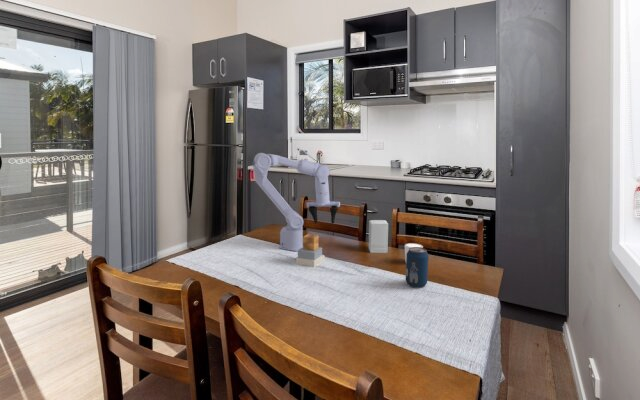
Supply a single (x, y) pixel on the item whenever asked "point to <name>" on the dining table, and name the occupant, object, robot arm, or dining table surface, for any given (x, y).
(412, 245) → the white cylinder
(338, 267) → the dining table surface
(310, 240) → the orange block
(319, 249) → the slate top block
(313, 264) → the cream base block
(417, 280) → the soda can
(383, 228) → the supplement box
